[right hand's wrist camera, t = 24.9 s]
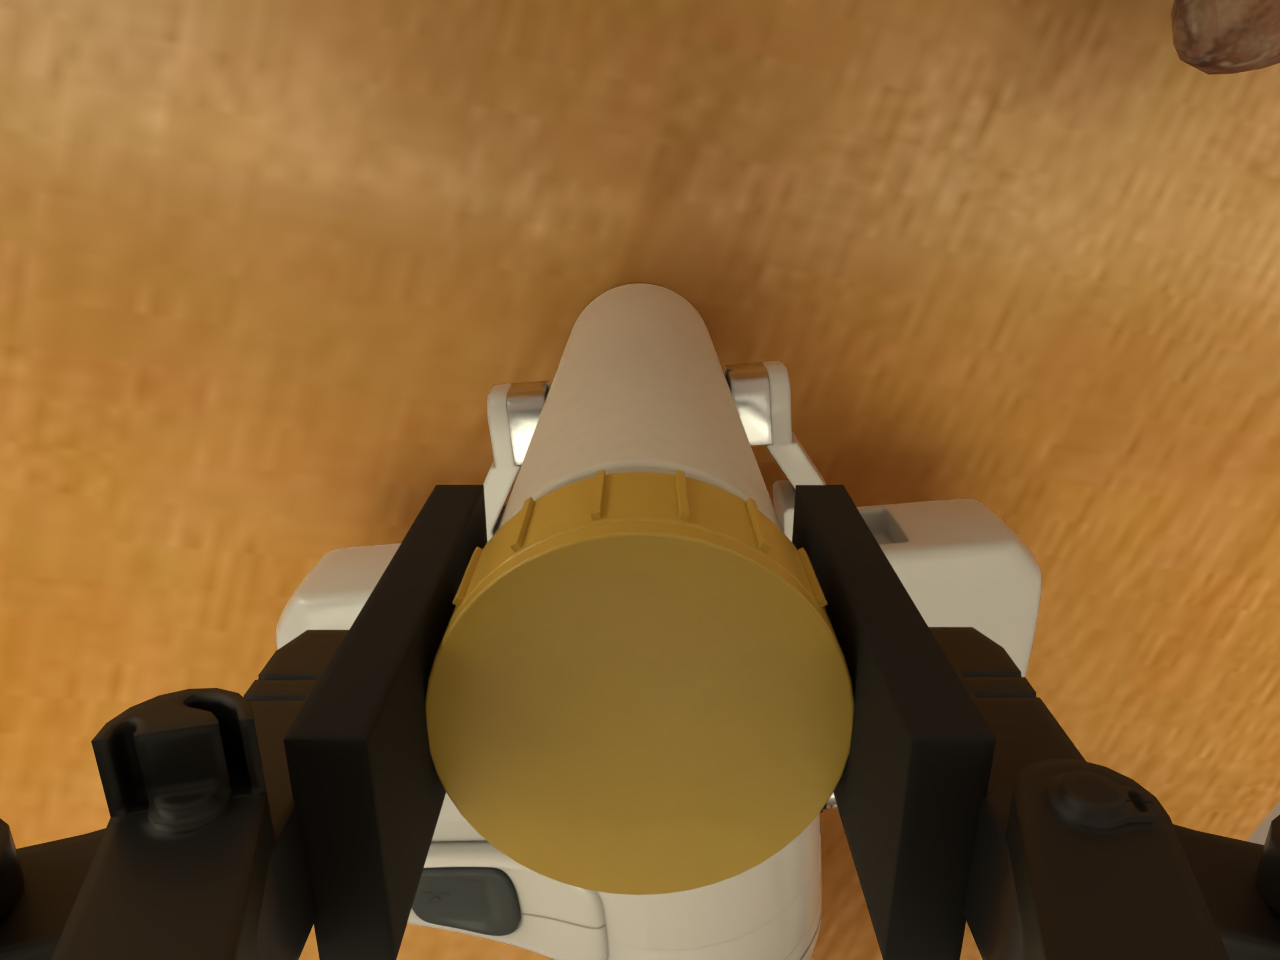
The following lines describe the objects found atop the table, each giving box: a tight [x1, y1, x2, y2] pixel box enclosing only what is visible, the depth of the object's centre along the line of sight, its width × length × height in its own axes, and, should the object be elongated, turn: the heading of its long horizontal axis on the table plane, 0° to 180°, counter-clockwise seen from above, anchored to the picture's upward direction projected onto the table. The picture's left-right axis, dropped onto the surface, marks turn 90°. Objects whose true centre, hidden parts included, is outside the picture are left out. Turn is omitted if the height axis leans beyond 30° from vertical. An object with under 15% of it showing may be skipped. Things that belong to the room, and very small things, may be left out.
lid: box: [425, 470, 854, 895], centre depth 11 cm, size 5×5×2 cm
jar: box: [497, 283, 783, 532], centre depth 20 cm, size 5×5×19 cm
